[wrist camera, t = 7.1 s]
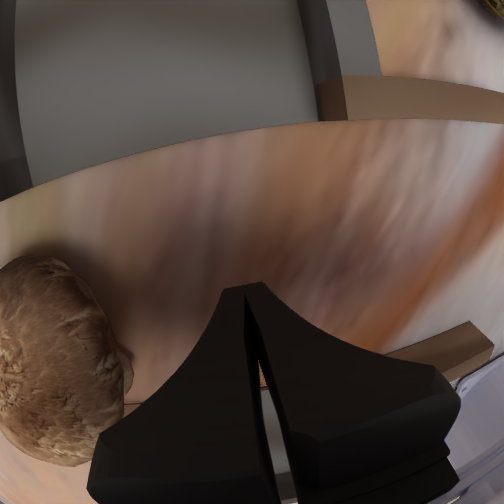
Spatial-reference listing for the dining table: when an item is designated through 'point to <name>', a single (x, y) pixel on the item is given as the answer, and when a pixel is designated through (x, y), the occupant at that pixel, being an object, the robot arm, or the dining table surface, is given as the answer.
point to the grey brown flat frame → (206, 101)
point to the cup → (494, 7)
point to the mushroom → (56, 363)
